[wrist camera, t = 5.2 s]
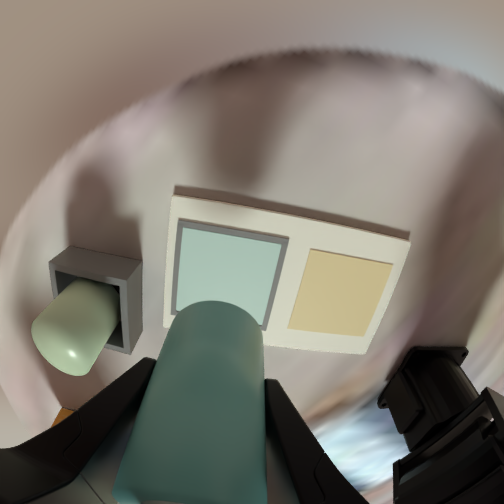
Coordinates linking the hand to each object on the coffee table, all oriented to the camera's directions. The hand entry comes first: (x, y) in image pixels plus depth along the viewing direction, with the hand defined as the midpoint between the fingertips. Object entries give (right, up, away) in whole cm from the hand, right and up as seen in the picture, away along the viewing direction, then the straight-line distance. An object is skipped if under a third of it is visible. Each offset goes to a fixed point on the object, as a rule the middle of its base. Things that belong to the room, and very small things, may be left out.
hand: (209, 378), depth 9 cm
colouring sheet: (+3, +2, +7) cm, 8 cm away
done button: (-8, +1, +6) cm, 10 cm away
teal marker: (0, +1, +2) cm, 2 cm away
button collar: (-8, +2, +7) cm, 11 cm away
